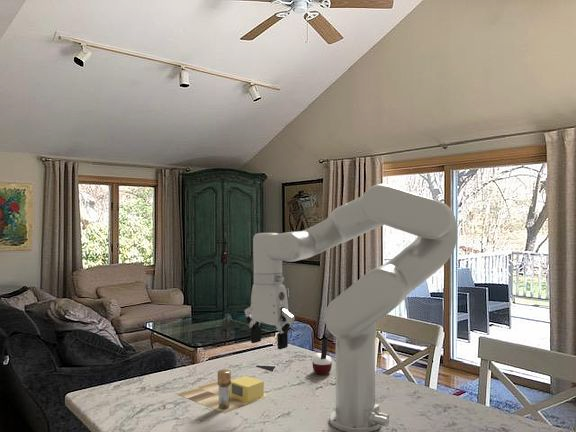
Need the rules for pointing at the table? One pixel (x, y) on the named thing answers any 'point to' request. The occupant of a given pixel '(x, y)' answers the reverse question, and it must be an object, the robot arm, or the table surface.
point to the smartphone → (267, 367)
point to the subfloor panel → (212, 397)
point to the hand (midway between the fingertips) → (269, 345)
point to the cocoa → (322, 360)
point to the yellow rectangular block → (247, 388)
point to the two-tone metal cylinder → (224, 388)
